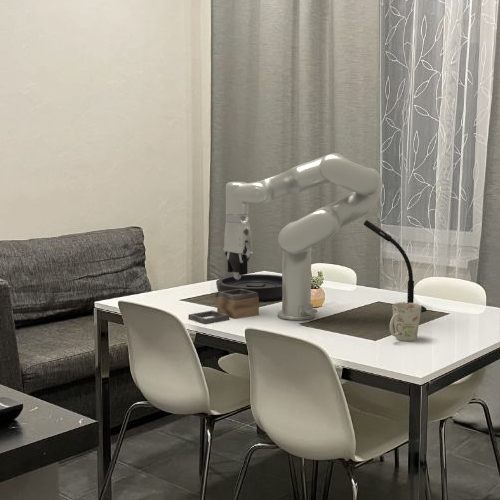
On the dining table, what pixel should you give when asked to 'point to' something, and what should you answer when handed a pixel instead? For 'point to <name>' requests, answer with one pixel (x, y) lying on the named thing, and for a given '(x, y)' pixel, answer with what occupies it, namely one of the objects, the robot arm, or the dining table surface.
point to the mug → (405, 321)
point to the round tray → (254, 285)
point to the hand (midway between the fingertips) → (237, 272)
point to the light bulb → (235, 264)
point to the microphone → (387, 237)
